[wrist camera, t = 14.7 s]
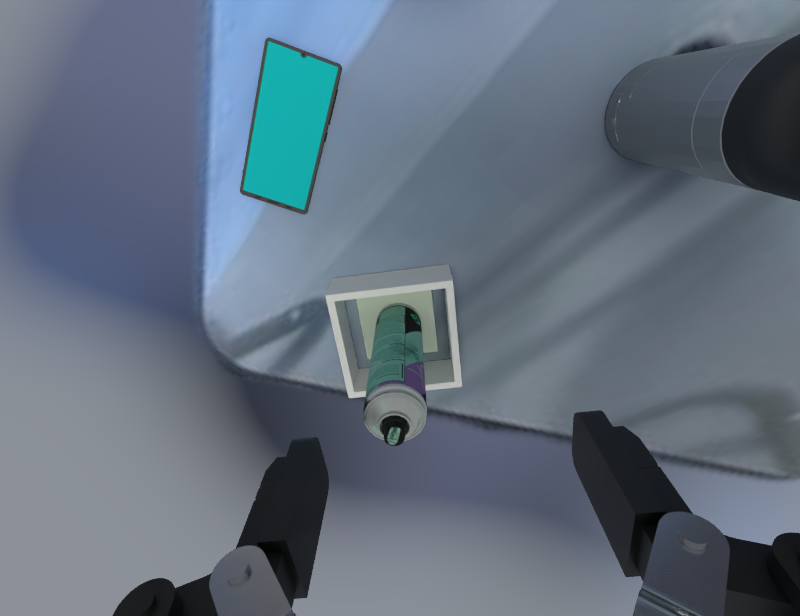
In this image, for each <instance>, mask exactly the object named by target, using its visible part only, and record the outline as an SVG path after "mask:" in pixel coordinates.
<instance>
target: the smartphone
mask: <svg viewBox="0 0 800 616" xmlns="http://www.w3.org/2000/svg"><path fill="white" fill-rule="evenodd" d="M341 70H342V67H341V65H340V64H338V63H335V62H332V61H330V60H327V59H324V58H322V57H319V56H316V55H314V54H311V53H309V52H306V51H303V50H301V49H298V48H295V47H293V46H290V45H287V44H285V43H282V42H279V41H277V40H274V39H272V38H267V39H266V40H265V46H264V51H263V57H262V63H261V69H260V75H259V81H258V87H257V93H256V99H255V105H254V111H253V117H252V123H251V129H250V134H249V140H248V146H247V152H246V158H245V164H244V170H243V176H242V182H241V188H240V192H241V194H243V195H246V196H249V197H252V198H255V199H258V200H261V201H264V202H267V203H270V204H273V205H276V206H279V207H283V208H286V209H289V210H292V211H295V212H298V213H301V214H306V213H307V211H308V207H309V203H310V199H311V194H312V190H313V186H314V182H315V178H316V174H317V170H318V165H319V161H320V157H321V153H322V149H323V145H324V142H325V141H326V137H327V128H328V124H330V120H331V116H332V112H333V108H334V104H335V99H336V95H337V91H338V90H337V87H338V83H339V79H340V74H341Z"/></svg>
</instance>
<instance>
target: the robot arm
mask: <svg viewBox="0 0 800 616" xmlns="http://www.w3.org/2000/svg"><path fill="white" fill-rule="evenodd" d="M605 125H606V133H607V137H608V140H609V141H610V143H611V145H612V147H613V148H614V149H615V150H616V151H617V152H618V153H619V154H620V155H622V156H623V157H625V158H627V159H630V160H634V161H638V162H642V163H646V164H650V165H654V166H658V167H662V168H666V169H670V170H675V171H679V172H683V173H687V174H692V175H696V176H700V177H704V178H709V179H713V180H717V181H721V182H726V183H731V184H735V185H739V186H743V187H748V188H752V189H756V190H760V191H764V192H768V193H772V194H774V195H778V196H782V197H786V198H790V199H793V200H797V201H800V32H796V33H790V34H785V35H780V36H776V37H771V38H765V39H760V40H755V41H749V42H744V43H739V44H734V45H728V46H723V47H718V48H712V49H707V50H702V51H697V52H691V53H686V54H680V55H675V56H669V57H664V58H659V59H654V60H651V61H649V62H646V63H643V64H642V65H640V66H638V67H637V68H635V69H633V70H632V71H631V72H630V73H629V74H628V75H627V76H625V77H624V79H623V80H622V81H621V82H620V84H619V85H618V86H617V87H616V89H615V91H614V93H613V94H612V96H611V98H610V101H609V104H608V107H607V112H606V118H605ZM572 456H573V462H574V466H575V469H576V471H577V473H578V476H579V478H580V480H581V482H582V484H583V487H584V489H585V491H586V493H587V495H588V497H589V499H590V501H591V503H592V506H593V508H594V510H595V512H596V514H597V516H598V518H599V521H600V523H601V525H602V527H603V529H604V531H605V533H606V536H607V538H608V540H609V542H610V544H611V546H612V548H613V551H614V552H615V555H616V557H617V559H618V561H619V563H620V566H621V568H622V570H623V572H624V574H625V576H626V577H633V576H641V578H642V580H643V584H642V588H641V590H640V592H639V594H638V598H637V602H636V605H635V610H634V613H633V616H800V533H784V534H781V535H779V536H777V537H776V538H775V539H774V542H773V544H772V546H770V545H765V544H760V543H755V542H750V541H745V540H740V539H736V538H732V537H728V536H726V535H723V533H721V531H720V530H719V529H718V528H717V527H716V526H715V525H713V524H712V523H710V522H709V521H707V520H706V519H704V518H702V517H700V516H697V515H695V514H693V513H692V512H691V511H690V509H689V508H688V506H687V505H686V504H685V502H684V501H683V499H682V498H681V497H680V495H679V494H678V492H677V491H676V490H675V488H674V487H673V486H672V484H671V483H670V481H669V479H668V478H667V477H666V475H665V474H664V472H663V471H662V469H661V468H660V467H658V465H657V462H656V461H655V460H654V458H653V457H652V455H650V454H649V451H648V450H647V448H646V447H645V445H644V444H643V443H642V441H641V440H640V438H639V437H637V436H636V435H635V434H633V433H632V432H631V431H629V430H628V429H627V428H625V427H624V426H619V427H613V426H612V425H611V423H610V422H609V420H608V418H607V417H606V415H605V414H604V413H603V412H602V411H600V410H599V411H589V412H578V413H575V414H574V421H573V440H572ZM328 489H329V478H328V471H327V467H326V464H325V461H324V457H323V453H322V450H321V446H320V442H319V440H318V438H317V437H310V438H299V439H293V440H292V442H291V444H290V447H289V450H288V453H287V456H286V457H277V458H276V459H275V461H274V462H273V463H272V464H271V465H270V467H269V468H268V469H267V470H266V472H265V474H264V477H263V480H262V482H261V485H260V488H259V490H258V492H257V495H256V500H255V501H254V503H253V505H252V508H251V511H250V513H249V516H248V518H247V521H246V524H245V526H244V529H243V532H242V534H241V537H240V539H239V542H238V545H237V547H236V549H234V550H233V551H231V552H229V553H228V554H227V555H225V556H224V557H223V558H222V559H221V560H220V561H219V563H218V564H217V565H216V566H215V568H214V570H213V572H212V573H211V574H209V575H207V576H205V577H203V578H200V579H198V580H195V581H192V582H190V583H187V584H185V585H183V586H180V587H177V588H175V587H174V585H173V584H172V582H170V581H169V580H167V579H164V578H157V579H152V580H150V581H147V582H145V583H143V584H141V585H139V586H138V587H137V588H135V589H134V590H132V591H131V592H130V593H129V594H128V595H127V596H126V597H125V598H124V599H123V600H122V602H121V603H120V604H119V605H118V607H117V609H116V611H115V612H114V614H113V616H296V615H295V613H293V611H292V605H293V601H294V599H296V598H307V595H308V590H309V585H310V580H311V575H312V570H313V565H314V560H315V555H316V550H317V545H318V540H319V535H320V530H321V525H322V520H323V515H324V510H325V505H326V500H327V495H328Z"/></svg>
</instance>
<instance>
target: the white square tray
mask: <svg viewBox="0 0 800 616" xmlns="http://www.w3.org/2000/svg"><path fill="white" fill-rule="evenodd" d="M435 289H444V295H445V305H446V316H447V326H448V336H449V347H450V357H451V359H446V360H436V361H427V362H424V374H425V389H426V390H435V389H445V388H455V387H462V380H461V368H460V357H459V345H458V334H457V322H456V311H455V299H454V288H453V279H452V275H451V272H450V268H449V264H446V265H438V266H430V267H422V268H414V269H405V270H397V271H389V272H381V273H372V274H364V275H356V276H348V277H340V278H333V279H332V281H331V283H330V286H329V288H328V290H327V293H326V295H325V296H326V301H327V305H328V309H329V314H330V318H331V322H332V327H333V331H334V336H335V340H336V344H337V349H338V353H339V358H340V362H341V366H342V371H343V375H344V379H345V384H346V388H347V393H348V397H349V398H357V397H365V396H366V389H367V382H368V376H369V369H370V368H361V369H358V365H357V360H356V355H355V350H354V345H353V341H352V336H351V331H350V326H349V321H348V317H347V312H346V307H345V302H344V300H351V299H356V302H357V307H358V312H359V317H360V322H361V327H362V333H363V338H364V343H365V348H366V353H367V358H368V359H371V355H372V348H373V341H374V334H375V328H376V321H377V317H378V315H379V313H380V312H381V310H382V309H383V308H385V307H386V306H388V305H390V304H394V303H403V304H407V305H409V306H411V307H413V308H414V309H415V310H416V311H417V312H418V314H419V316H420V319H421V327H422V343H423V353H429V352H438V346H437V337H436V328H435V319H434V310H433V301H432V292H431V290H435Z"/></svg>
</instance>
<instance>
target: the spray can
mask: <svg viewBox="0 0 800 616" xmlns="http://www.w3.org/2000/svg"><path fill="white" fill-rule="evenodd" d="M426 415H427V405H426V389H425V374H424V358H423V343H422V327H421V319H420V316H419V314H418V312H417V311H416V310H415V309H414V308H413V307H411V306H409V305H407V304H403V303H394V304H390V305H388V306H386V307H385V308H383V309H382V310H381V312H380V313H379V315H378V317H377V321H376V328H375V334H374V341H373V348H372V355H371V362H370V369H369V376H368V382H367V389H366V396H365V403H364V421H365V425H366V427H367V428H368V430H369V431H370V432H371V433H372V434H373V435H374V436H376V437H378V438H380V439H382V440H385V442H386V443H387V444H389V445H391V446H397V445H400V444H402V443H403V441H406V440H409V439H411V438H413V437H415V436H416V435H418V434H419V433H420V432H421V430H422V429H423V427H424V425H425V422H426Z"/></svg>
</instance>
